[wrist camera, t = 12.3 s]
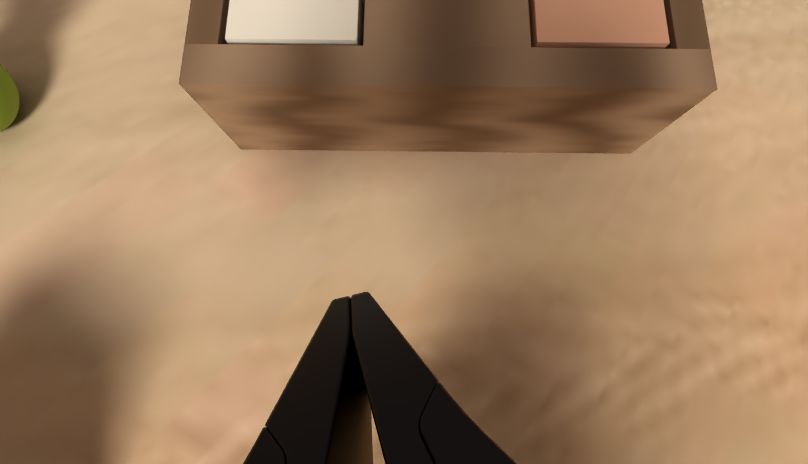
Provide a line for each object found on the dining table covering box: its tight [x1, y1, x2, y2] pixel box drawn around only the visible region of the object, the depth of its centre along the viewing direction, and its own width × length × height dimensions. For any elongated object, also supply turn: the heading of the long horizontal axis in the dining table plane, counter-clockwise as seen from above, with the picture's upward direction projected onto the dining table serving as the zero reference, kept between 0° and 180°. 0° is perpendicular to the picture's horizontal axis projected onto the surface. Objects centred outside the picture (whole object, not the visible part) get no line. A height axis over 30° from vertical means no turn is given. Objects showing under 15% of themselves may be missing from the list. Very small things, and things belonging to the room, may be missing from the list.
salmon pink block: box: [528, 0, 670, 49], centre depth 22 cm, size 6×6×7 cm
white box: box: [225, 0, 365, 46], centre depth 23 cm, size 6×6×7 cm
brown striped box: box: [179, 0, 717, 153], centre depth 22 cm, size 24×11×7 cm, turn 89°
